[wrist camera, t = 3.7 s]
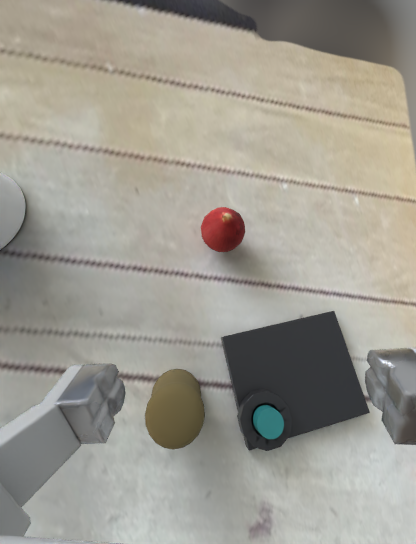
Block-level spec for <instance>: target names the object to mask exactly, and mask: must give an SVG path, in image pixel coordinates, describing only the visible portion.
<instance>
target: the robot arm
mask: <svg viewBox="0 0 416 544" xmlns="http://www.w3.org/2000/svg"><path fill="white" fill-rule="evenodd" d="M25 210H26V205H25V198H24V195H23V193H22V191H21V189H20V187H19V186H18V185H17V184H16V182H14V181H13V180H12V179H11V178H10V177H8V176H6V175H5V174H3V173H1V172H0V250H1V249H2V248H3V247H4V246H6V245H7V244H8V243H9V242H10V241H11V240H12V239H13V238H14V236H15V235H16V234H17V232H18V231H19V229H20V227H21V225H22V223H23V220H24V216H25ZM367 361H368V363H369V365H370V366H371V367H370V368H369V369H368V370H367V371H366V374H365V383H366V388H367V392H368V395H369V397H370V399H371V401H372V403H373V405H374V406H375V407H377V408H378V409H379V410H381V411H382V412H383V414H382V422H383V424H384V425H385V427H386V429H387V431H388V433H389V435H390V436H391V438H392V440H393V442H394V444H408V445H416V347H414V348H400V349H384V350H370V351H369V353H368V356H367ZM118 372H119V371H118V369H117V367H116V365H115V364H86V365H72V366H70V367H69V368H68V369H67V370H66V371H65V373H64V374H63V375H62V376H61V378H60V379H59V380H58V381H57V383H56V384H55V385H54V387H53V388H52V389H51V390H50V392H49V393H48V394H47V395H46V397H45V398H44V399H43V400H42V402H41V403H40V404H39V405H34V406H33V407H31V408H30V409H28V410H27V411H25V412H24V413H22V414H21V415H19V416H18V417H16V418H15V419H13V420H12V421H10V422H9V423H8V424H6V425H5V426H3V427H2V428H0V544H121V543H107V542H93V541H78V540H64V539H50V538H36V537H23V536H24V535H25V533H26V531H27V529H28V527H29V525H30V524H31V522H30V517H29V516H28V514H27V513H26V512H25V511H24V510H23V509H22V508H21V507H22V506H23V505H24V504H25V503H26V502H27V501H28V500H29V499H30V498H31V497H32V496H33V495H34V494H35V493H36V492H37V491H38V490H39V489H40V488H41V487H42V486H43V484H44V483H45V482H46V481H47V480H48V479H49V478H50V477H51V476H52V475H53V474H54V473H55V472H56V471H57V470H58V469H59V468H60V467H61V466H62V465H63V464H64V463H65V462H66V461H67V460H68V459H69V458H70V457H71V455H72V454H73V453H74V452H75V451H76V450H77V449H78V448H79V447H80V446H81V444H95V443H106V441H107V439H108V437H109V435H110V432H111V430H112V428H113V426H114V424H115V422H114V416H115V415H116V414H117V413H118V412H119V411H120V410H121V408H122V406H123V403H124V399H125V386H124V384H123V381H121V380H120V379H119V378H118V377H117V374H118Z"/></svg>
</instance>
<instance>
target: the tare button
mask: <svg viewBox="0 0 416 544" xmlns="http://www.w3.org/2000/svg"><path fill="white" fill-rule="evenodd" d="M253 423H254V426H255V428H256V429H257V431H258V432H259V433H260V434H261V435H262V436H263V437H265V438H267V439H275V438H277V437H279V436H280V435H281V433H282V431H283V428H284V420H283V417H282V415H281V414H280V413H279V412H278V411H277V410H276V409H274V408H272V407H271V406H269V405H262V406H260V407H258V408H257V409H256V410H255V412H254V415H253Z"/></svg>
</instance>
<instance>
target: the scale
mask: <svg viewBox="0 0 416 544" xmlns="http://www.w3.org/2000/svg"><path fill="white" fill-rule="evenodd" d="M221 340H222V344H223V349H224V353H225V357H226V361H227V366H228V370H229V374H230V379H231V383H232V387H233V392H234V396H235V400H236V405H237V409H238V415H237V417H238V422H239V426H240V430H241V432H242V433H243V435H244V439H245V443H246V446H247V448H248V449H249V450H252V449H255V448H259V449H262V450H265V451H269V450H272V449H275V448H278V447H281V446H282V444H283V443H284V442H285V441H286V439H287V438H291V437H294V436H297V435H300V434H303V433H307V432H310V431H313V430H316V429H319V428H322V427H326V426H329V425H332V424H335V423H338V422H342V421H345V420H348V419H351V418H354V417H358V416H361V415H364V414H367V413H370V412H369V409H368V406H367V403H366V401H365V398H364V395H363V392H362V389H361V386H360V384H359V381H358V378H357V375H356V372H355V369H354V366H353V364H352V361H351V358H350V355H349V352H348V349H347V347H346V344H345V341H344V338H343V335H342V332H341V329H340V327H339V324H338V321H337V318H336V315H335V312H334V311H331V312H327V313H323V314H318V315H314V316H310V317H306V318H301V319H297V320H293V321H288V322H284V323H280V324H276V325H271V326H267V327H263V328H259V329H254V330H250V331H246V332H242V333H237V334H233V335H229V336H224V337H221ZM262 405H269V406H271V407H272V408H274V409H276V410H277V411H278V412H279V413H280V414H281V415H282V417H283V420H284V428H283V431H282V433H281V435H280V436H279V437H277V438H275V439H267V438H265V437H263V436H262V435H261V434H260V433H259V432H258V431H257V429H256V428H255V426H254V423H253V415H254V412H255V410H256V409H257V408H258V407H260V406H262Z"/></svg>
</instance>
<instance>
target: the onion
mask: <svg viewBox="0 0 416 544" xmlns="http://www.w3.org/2000/svg"><path fill="white" fill-rule="evenodd" d="M201 233H202V238H203V240H204V242H205V243H206V244H207V245H208V246H209V247H210V248H211V249H213V250H215V251H218V252H228V251H230V250H233V249H234V248H236V247H237V246H238V245H239V244H240V243H241V242H242V239H243V237H244V234H245V225H244V221H243V219H242V217H241V216H240V214H239V213H237V212H235V211H234V210H232V209H229V208H226V207H221V208H217V209H215V210H212V211H211V212H210V213H209V214H208V215H206V216H205V217H204V220H203V223H202V225H201Z"/></svg>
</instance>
